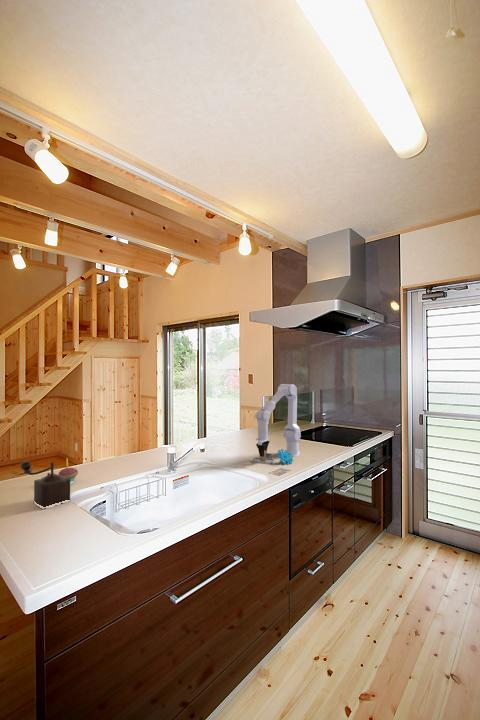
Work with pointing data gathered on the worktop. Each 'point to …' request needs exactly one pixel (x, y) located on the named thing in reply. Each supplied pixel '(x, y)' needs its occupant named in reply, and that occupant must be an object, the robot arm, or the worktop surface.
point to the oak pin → (263, 457)
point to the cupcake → (69, 472)
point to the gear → (285, 456)
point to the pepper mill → (48, 486)
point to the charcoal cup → (269, 455)
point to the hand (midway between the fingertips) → (263, 454)
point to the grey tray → (257, 460)
